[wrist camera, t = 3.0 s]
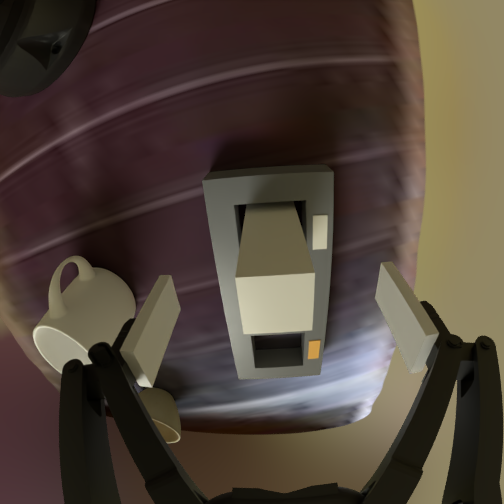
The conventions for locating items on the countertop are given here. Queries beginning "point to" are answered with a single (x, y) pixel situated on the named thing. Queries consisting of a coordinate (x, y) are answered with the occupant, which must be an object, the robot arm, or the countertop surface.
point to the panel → (227, 250)
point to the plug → (274, 271)
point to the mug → (82, 314)
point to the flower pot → (162, 412)
